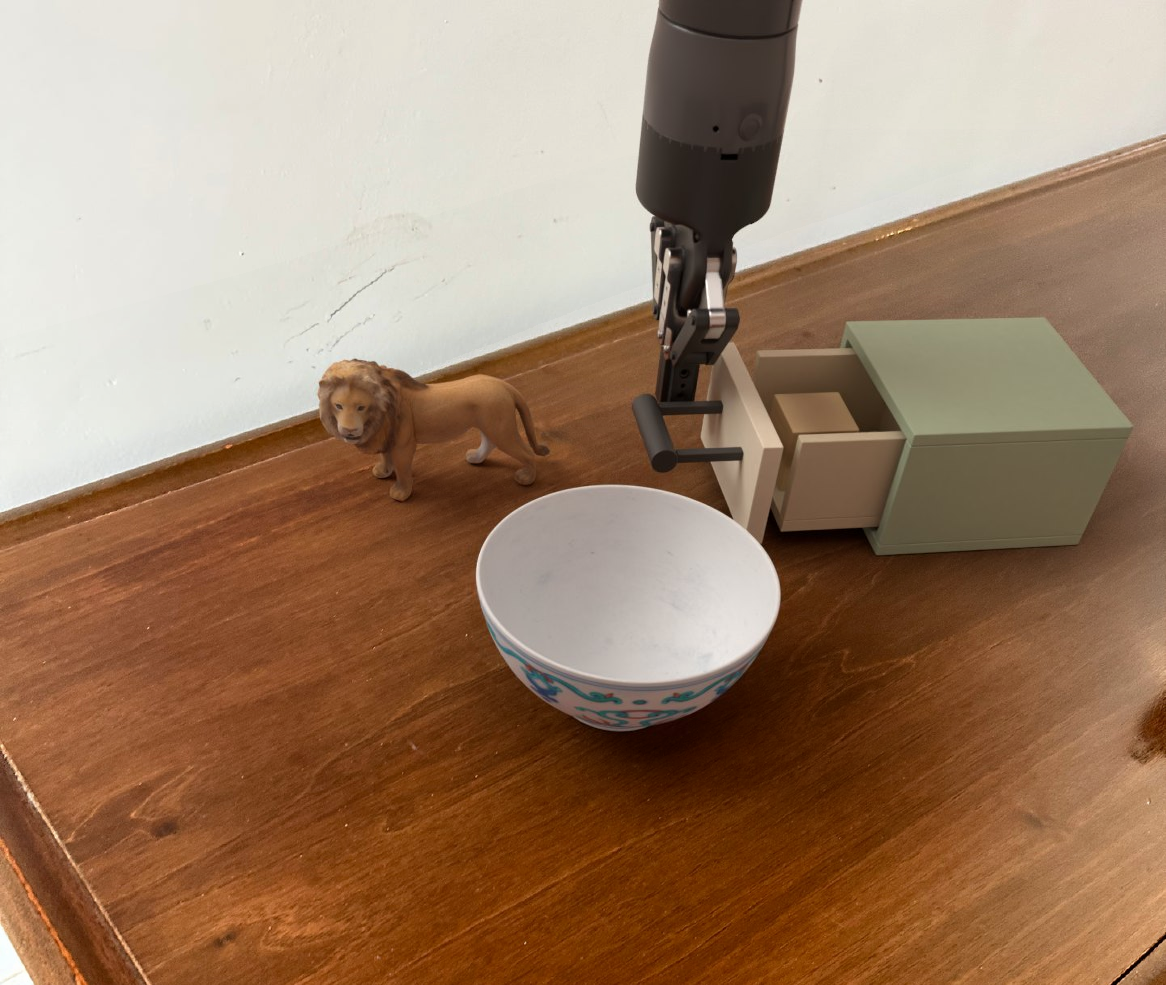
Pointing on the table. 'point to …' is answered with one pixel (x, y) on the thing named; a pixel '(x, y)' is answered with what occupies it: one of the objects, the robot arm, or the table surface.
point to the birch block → (806, 422)
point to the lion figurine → (422, 417)
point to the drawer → (753, 449)
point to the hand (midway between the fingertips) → (673, 405)
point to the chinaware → (626, 602)
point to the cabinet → (988, 433)
